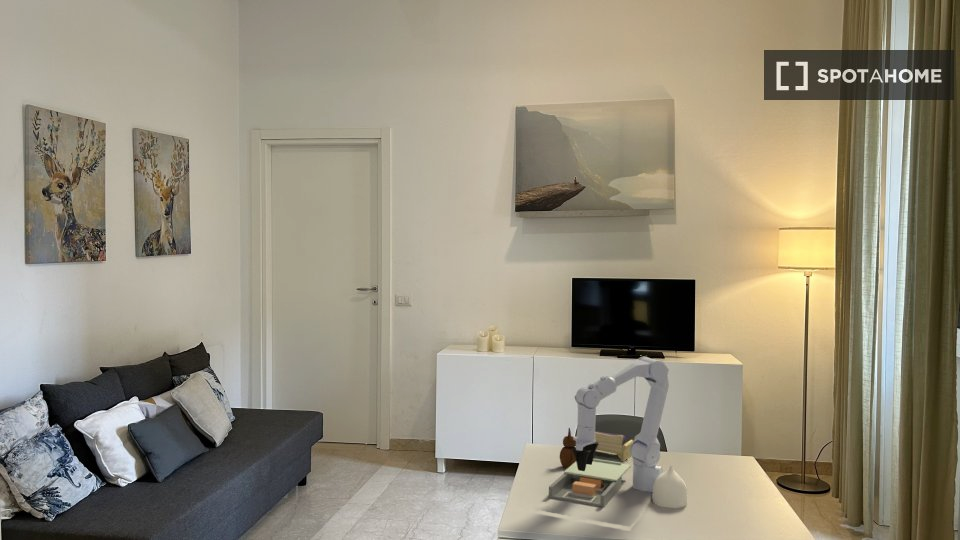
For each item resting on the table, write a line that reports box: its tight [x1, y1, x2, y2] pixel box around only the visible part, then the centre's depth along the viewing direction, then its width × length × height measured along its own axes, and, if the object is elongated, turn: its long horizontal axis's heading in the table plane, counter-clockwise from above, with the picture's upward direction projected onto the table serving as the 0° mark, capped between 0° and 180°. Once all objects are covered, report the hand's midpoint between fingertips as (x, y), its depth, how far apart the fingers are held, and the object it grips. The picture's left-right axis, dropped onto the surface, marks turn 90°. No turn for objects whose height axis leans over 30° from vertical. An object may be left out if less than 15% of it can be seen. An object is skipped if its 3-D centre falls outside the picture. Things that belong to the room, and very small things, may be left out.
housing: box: [548, 472, 623, 508], centre depth 248 cm, size 18×21×5 cm
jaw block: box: [572, 481, 596, 496], centre depth 246 cm, size 7×3×3 cm, turn 65°
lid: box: [563, 458, 632, 482], centre depth 260 cm, size 18×18×1 cm
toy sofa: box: [574, 430, 634, 462], centre depth 295 cm, size 21×9×10 cm, turn 59°
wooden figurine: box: [559, 427, 576, 469], centre depth 277 cm, size 7×6×15 cm
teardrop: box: [651, 465, 688, 509], centre depth 244 cm, size 11×11×12 cm
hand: (585, 467), depth 246 cm, fingers open, 7 cm apart
